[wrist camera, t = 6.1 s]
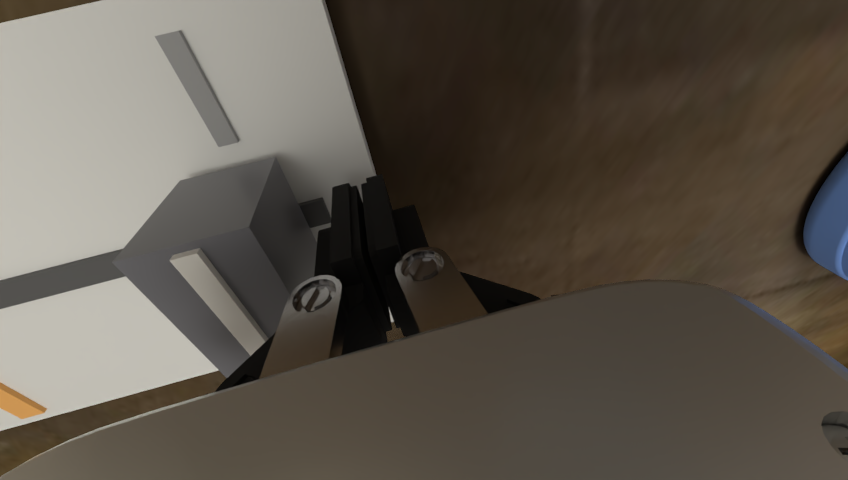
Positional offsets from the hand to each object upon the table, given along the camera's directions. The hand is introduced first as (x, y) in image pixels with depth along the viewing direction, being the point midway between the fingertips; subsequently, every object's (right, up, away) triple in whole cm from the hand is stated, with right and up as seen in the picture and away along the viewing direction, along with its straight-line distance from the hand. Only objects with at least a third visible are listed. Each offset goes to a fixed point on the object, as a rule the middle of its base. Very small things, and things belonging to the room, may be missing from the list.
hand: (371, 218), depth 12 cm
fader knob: (-4, 0, 0) cm, 4 cm away
